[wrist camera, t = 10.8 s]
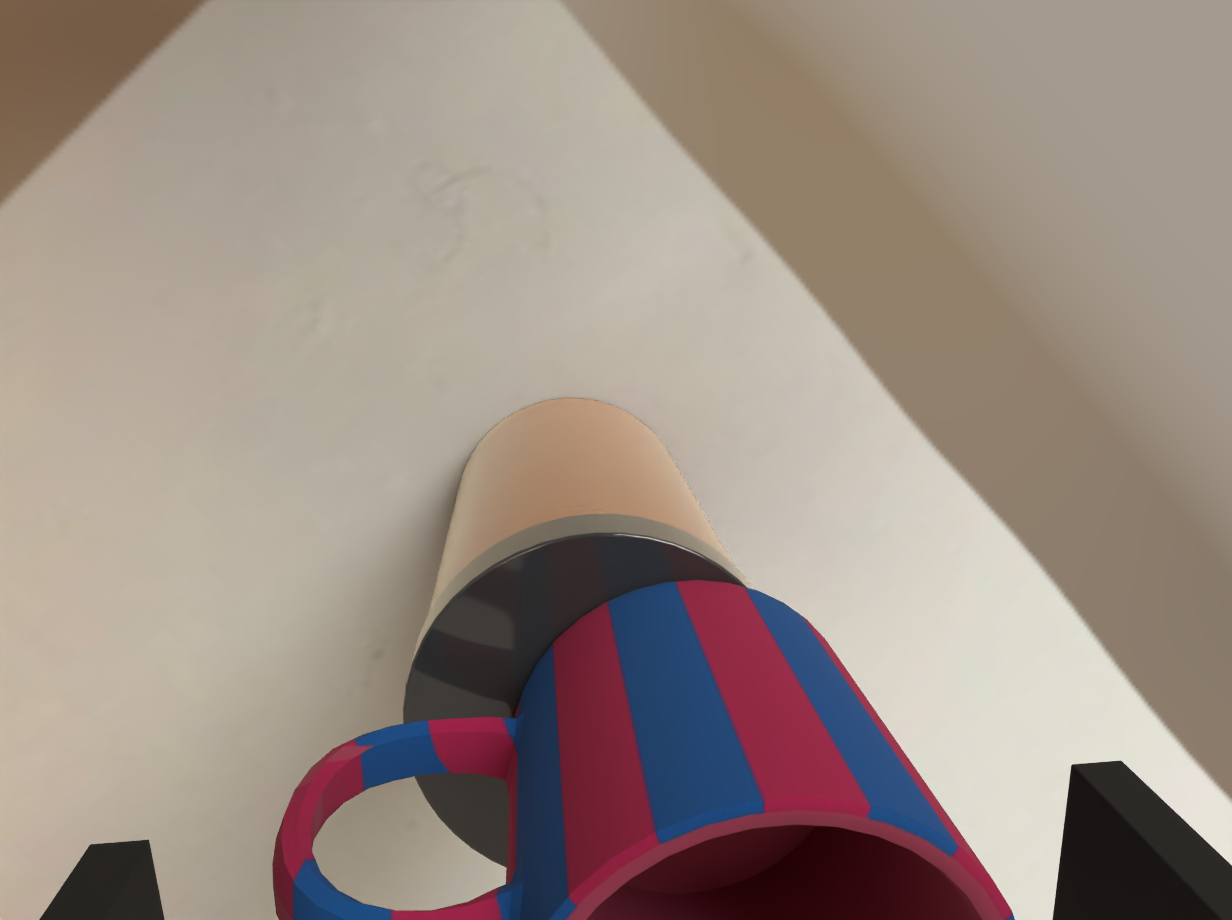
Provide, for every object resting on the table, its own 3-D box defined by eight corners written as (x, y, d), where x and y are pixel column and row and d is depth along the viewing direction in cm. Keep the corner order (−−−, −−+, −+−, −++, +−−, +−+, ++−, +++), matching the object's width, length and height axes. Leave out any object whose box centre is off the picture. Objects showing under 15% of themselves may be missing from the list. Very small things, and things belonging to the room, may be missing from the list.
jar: (445, 400, 29) (383, 546, 17) (684, 388, 30) (799, 521, 17) (462, 621, 31) (419, 901, 19) (685, 606, 32) (791, 868, 19)
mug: (776, 912, 20) (902, 1267, 13) (302, 799, 18) (171, 1143, 11) (904, 631, 18) (1118, 873, 12) (399, 480, 16) (315, 661, 10)
